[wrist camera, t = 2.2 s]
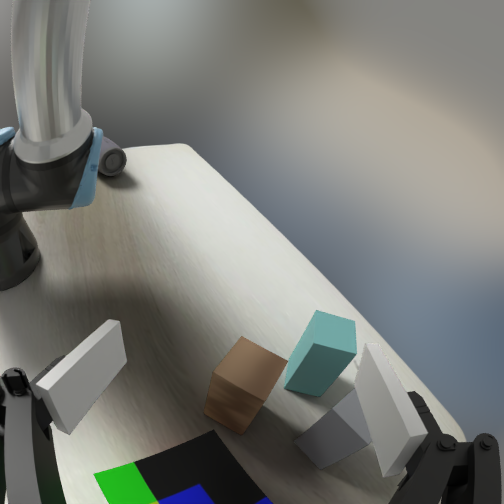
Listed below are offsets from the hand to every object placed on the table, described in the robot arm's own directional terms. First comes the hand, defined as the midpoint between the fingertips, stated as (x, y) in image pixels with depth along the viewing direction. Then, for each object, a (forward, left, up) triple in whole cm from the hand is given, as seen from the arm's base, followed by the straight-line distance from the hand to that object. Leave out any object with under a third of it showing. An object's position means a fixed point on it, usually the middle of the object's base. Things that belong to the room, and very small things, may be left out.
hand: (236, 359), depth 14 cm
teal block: (+3, +16, -19) cm, 25 cm away
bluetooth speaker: (-76, +28, -19) cm, 83 cm away
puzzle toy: (+4, -7, -19) cm, 21 cm away
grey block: (+10, +9, -19) cm, 23 cm away
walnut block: (-1, +6, -19) cm, 20 cm away
